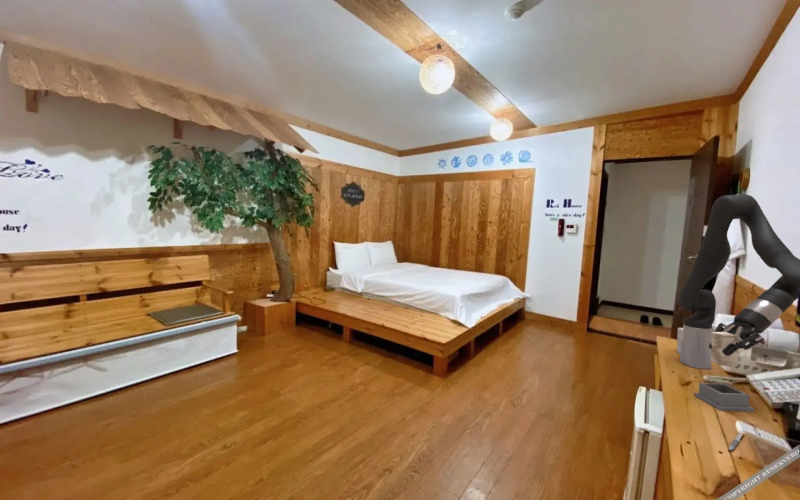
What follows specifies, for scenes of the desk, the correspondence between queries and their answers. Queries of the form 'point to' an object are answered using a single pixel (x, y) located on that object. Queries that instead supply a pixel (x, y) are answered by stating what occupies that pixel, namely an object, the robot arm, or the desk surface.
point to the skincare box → (679, 339)
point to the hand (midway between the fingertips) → (718, 351)
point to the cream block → (718, 344)
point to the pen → (735, 441)
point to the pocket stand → (724, 397)
